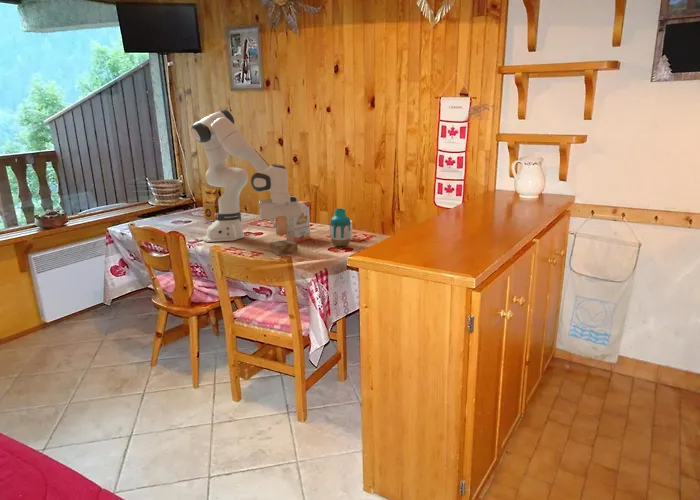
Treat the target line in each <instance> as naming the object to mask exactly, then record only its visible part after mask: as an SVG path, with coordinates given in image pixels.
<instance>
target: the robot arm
mask: <svg viewBox="0 0 700 500" xmlns="http://www.w3.org/2000/svg"><path fill="white" fill-rule="evenodd" d="M191 132H192V135H193V137H194V139H195V140H196V141H197V142H198V143H201V144H202V148H203V149H204V152H205V155H206V159H207V160H208V169H207V170H206V172H205V177H204V178H205V181H206V183H207V184H208V186H211V187H215V188H224V192H223V194H222V195H221V196H219V197H220V198H219V200H218V203H219V213H218V214H217V213H215V215H214V216H215V217H216V221H215V222H212V223H211V224H210V225H209V226H208V227H207V230H206V235H204V236H203V238H202V240H203V242H205V243H206V242H207V243H211V242H229V241H236V240H240V239H242V238H243V239H244V237H245V234H244V231H243V228H242V227H243V226H242V213H241V210H240V196H241V193H242V190H243V189H244V188H245V186H246V185H247V184H248V181H249V175H248V172H247V170H246V169H244V168H240V167H235V166H234V167H233V166H232V167H229V166H226V162H227V160H228V159H229V155H230V156H233V157H236V158H239V159H243V160H246V161H247V162H248V163H250V165H252V167H254V169H255V170H256V171H257V172H255V173H253V174H252V176H251V178H250V184H251V187H252V188H253V189H254V191H256V192H259V193H260V192H261V193H263V192H267V191H269V192H270V193H269V194H270V195H269V196H270V198H269V199H268V198H267V199H261V200H259V202H258V208H259V218H260V219H262V220H269V221H270V222H271V224H272V228H276V227H277V226H276V222H274V221H275V218H277V217H279V216H280V215H283V216H285V217H288V219H289V220H288V222H286V224H287V226H289V223H290V221H291V217H298V216H301V214H302V212H301V206H300V203H299V201H300V199H299V197H298V196H296V195H292V194H290V193H289V188H288V187H289V174H288V170H287V168H286V166H285V165H282V164H276V163H275V164H271V165H269V163H268V162H266V160H265V159H264V157H263V156H262V155H261V154H260V153H259V152H258V150H257V149H255V147H253V146H252V144H251V143H250V142H249V141H248V140H247V139H246V138H245V136H244V135H243V134H242V132H241V131H240V130H239V129H238V127H237V126H236V125H235V119H234V116H233V115H232V113H231V112H230V111H229V110H227V109H220V110H218V111H216V112H214V113H210V114H208V115H206V116H205V117H203V118H202V119H200V120H199V121H198V120H197V121H195V122H194V123H193V124H192V125H191Z"/></svg>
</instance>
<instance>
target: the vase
mask: <svg viewBox="0 0 700 500" xmlns="http://www.w3.org/2000/svg"><path fill="white" fill-rule="evenodd" d="M350 220H351V218H350V217H349V216H347V214H346V208H343V207H342V208H335V209H334V215H333V216H331V218H330V222H329V223H330V225H329V226H330V227H329V229H330V230H329V232H330V241H331V243H332V244H333V245H334V246H336V247H346V246H348V245H349V244H350V242H351V222H350Z"/></svg>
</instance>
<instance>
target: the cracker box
mask: <svg viewBox="0 0 700 500" xmlns="http://www.w3.org/2000/svg"><path fill="white" fill-rule="evenodd" d="M298 202H299V203H300V206H301V212H302V214H301V216H298V217H291V221H290V223H289V226H287V234H285V235H286V239H285V240H290V241H293V242H295V243H297V244H298V243H300V242H303V241H306V240H309V239H311V225H310V223H311V221H310V219H311V218H310V201H306V200H299V201H298ZM288 220H289V219H288V217H286V222H288Z"/></svg>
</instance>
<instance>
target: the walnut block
mask: <svg viewBox="0 0 700 500" xmlns="http://www.w3.org/2000/svg"><path fill="white" fill-rule="evenodd" d="M269 246H270V249H269V250H270V252H271V253H273V254H274V255H277V256H285V255H291V254H298V243H295V242H293V241H290V240H287V239H284V240H278V241H271V242H269Z"/></svg>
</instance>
